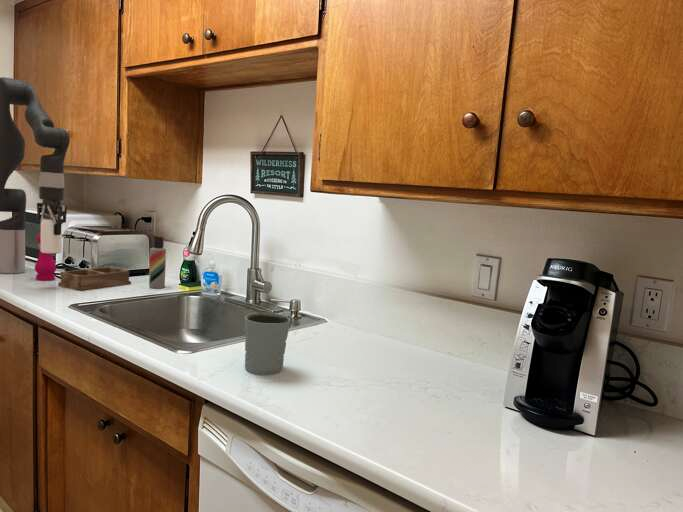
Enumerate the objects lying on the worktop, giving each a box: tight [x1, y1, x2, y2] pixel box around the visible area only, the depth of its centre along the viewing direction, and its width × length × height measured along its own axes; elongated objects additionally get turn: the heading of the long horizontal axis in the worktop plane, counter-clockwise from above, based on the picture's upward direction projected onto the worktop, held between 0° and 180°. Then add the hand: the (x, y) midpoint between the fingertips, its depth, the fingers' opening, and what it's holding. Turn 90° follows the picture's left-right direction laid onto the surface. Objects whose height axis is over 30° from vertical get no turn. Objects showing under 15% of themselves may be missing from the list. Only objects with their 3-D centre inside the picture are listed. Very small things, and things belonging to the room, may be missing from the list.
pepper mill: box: [34, 231, 57, 282], centre depth 195 cm, size 7×7×20 cm
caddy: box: [57, 266, 132, 292], centre depth 193 cm, size 13×21×5 cm, turn 151°
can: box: [40, 217, 63, 255], centre depth 180 cm, size 6×6×12 cm
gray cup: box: [244, 312, 291, 376], centre depth 117 cm, size 10×10×12 cm
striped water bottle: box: [148, 235, 167, 290], centre depth 196 cm, size 6×6×20 cm
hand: (51, 233), depth 180 cm, fingers closed on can, 6 cm apart
